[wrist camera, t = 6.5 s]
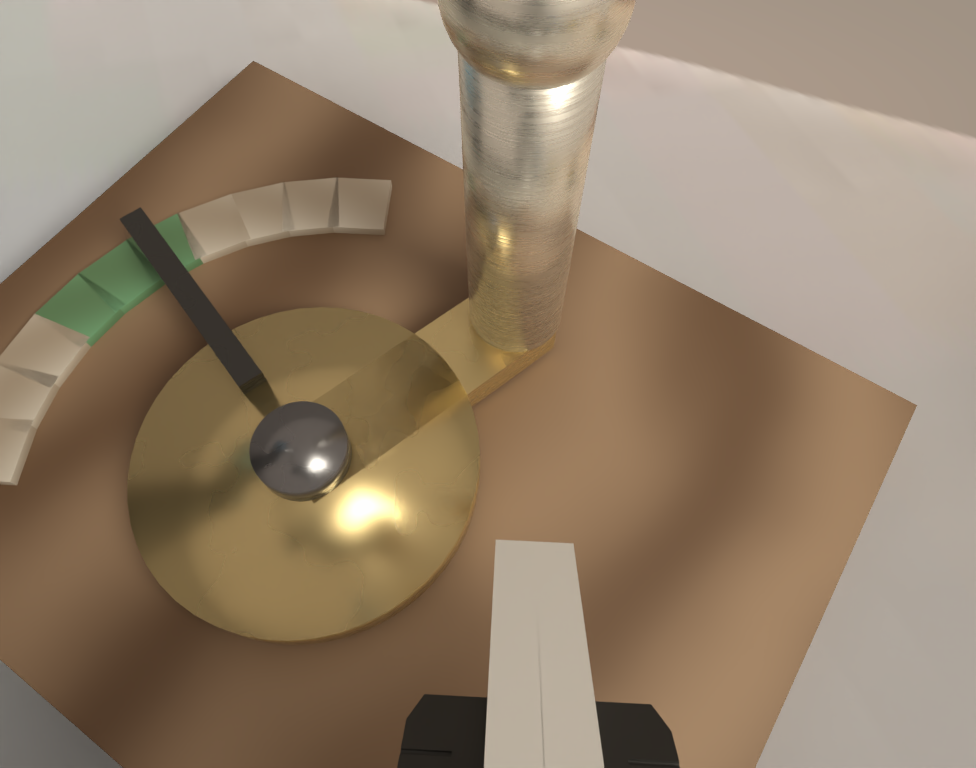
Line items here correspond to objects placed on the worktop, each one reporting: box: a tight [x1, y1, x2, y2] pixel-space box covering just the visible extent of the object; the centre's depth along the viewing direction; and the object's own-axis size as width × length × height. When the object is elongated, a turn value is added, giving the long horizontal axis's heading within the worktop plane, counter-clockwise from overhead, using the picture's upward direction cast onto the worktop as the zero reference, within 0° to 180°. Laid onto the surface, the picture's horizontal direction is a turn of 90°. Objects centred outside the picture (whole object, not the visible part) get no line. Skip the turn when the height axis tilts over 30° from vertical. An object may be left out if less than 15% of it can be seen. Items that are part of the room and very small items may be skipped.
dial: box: [120, 0, 636, 645], centre depth 15 cm, size 13×13×13 cm
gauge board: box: [0, 61, 917, 768], centre depth 21 cm, size 25×19×2 cm
